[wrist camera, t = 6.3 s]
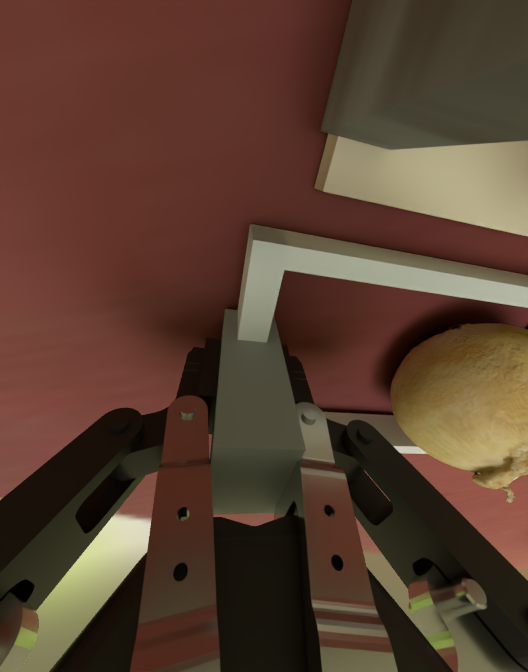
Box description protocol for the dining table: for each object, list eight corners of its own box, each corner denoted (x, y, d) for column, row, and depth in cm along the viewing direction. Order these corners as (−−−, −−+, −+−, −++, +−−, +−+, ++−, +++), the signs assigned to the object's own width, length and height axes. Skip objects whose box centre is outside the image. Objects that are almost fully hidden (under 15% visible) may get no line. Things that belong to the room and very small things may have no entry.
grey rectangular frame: (234, 220, 10) (230, 309, 4) (592, 287, 13) (872, 387, 7) (213, 414, 16) (199, 552, 10) (453, 425, 19) (542, 534, 14)
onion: (403, 301, 13) (537, 417, 7) (537, 303, 14) (757, 408, 8) (359, 403, 17) (419, 524, 12) (462, 400, 18) (566, 511, 12)
